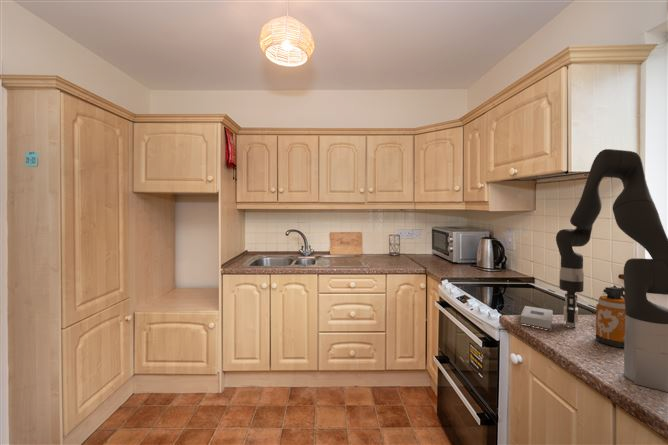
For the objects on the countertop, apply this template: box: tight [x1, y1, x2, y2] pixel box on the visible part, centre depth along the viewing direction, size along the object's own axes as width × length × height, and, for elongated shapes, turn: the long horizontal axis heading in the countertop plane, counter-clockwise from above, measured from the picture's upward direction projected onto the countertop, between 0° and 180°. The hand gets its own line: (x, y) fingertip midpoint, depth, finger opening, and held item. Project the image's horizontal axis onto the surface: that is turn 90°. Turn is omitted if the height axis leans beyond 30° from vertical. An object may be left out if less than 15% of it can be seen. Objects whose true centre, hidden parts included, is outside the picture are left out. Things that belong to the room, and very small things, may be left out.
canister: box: [595, 285, 625, 348], centre depth 104 cm, size 9×11×20 cm
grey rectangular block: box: [520, 305, 554, 331], centre depth 124 cm, size 16×10×4 cm, turn 142°
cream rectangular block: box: [563, 305, 579, 328], centre depth 119 cm, size 4×4×8 cm
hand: (570, 320), depth 119 cm, fingers open, 5 cm apart
